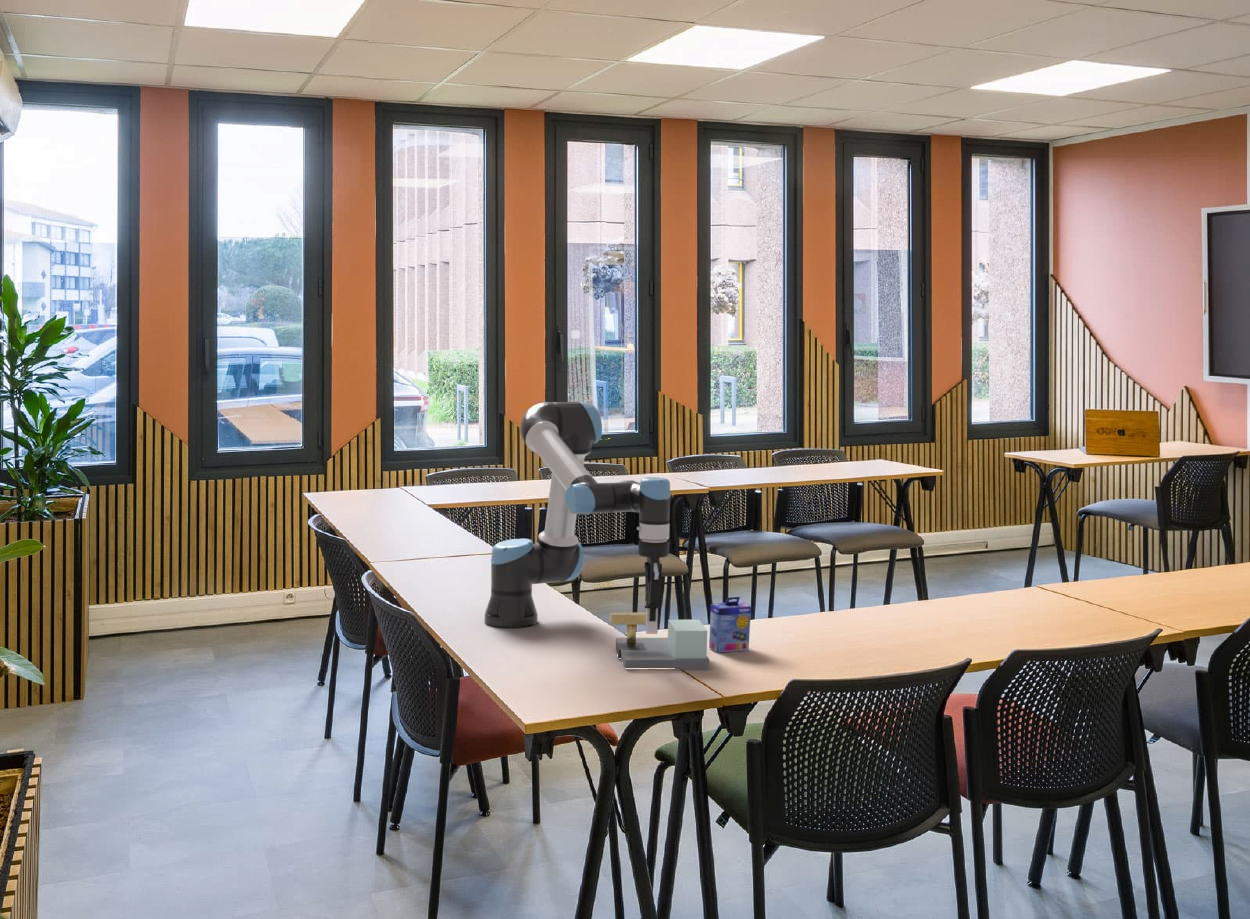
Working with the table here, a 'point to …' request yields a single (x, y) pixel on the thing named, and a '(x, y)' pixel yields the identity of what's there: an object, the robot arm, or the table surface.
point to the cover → (687, 639)
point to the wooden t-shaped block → (629, 624)
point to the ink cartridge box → (729, 626)
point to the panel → (654, 655)
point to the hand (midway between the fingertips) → (651, 633)
